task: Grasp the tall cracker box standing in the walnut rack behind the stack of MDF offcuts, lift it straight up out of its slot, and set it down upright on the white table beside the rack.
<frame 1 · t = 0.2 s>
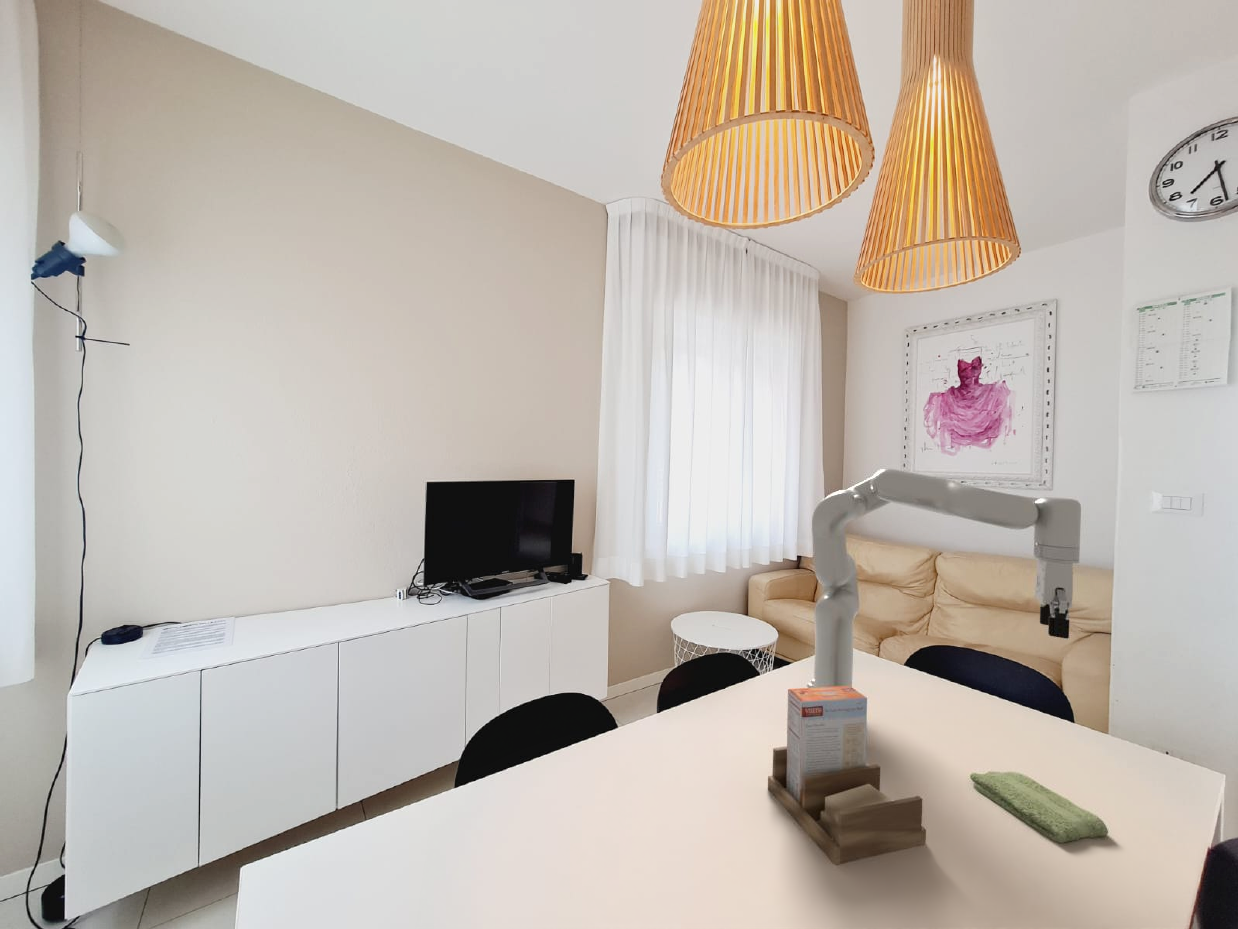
hand: (1053, 630, 107), 31 cm above the table, tool pointing down, fingers open, 9 cm apart
rack: (838, 812, 91), on the table
washcloth: (1033, 811, 94), on the table
cracker box: (824, 799, 95), resting in rack
offcut stack: (859, 833, 86), resting in rack
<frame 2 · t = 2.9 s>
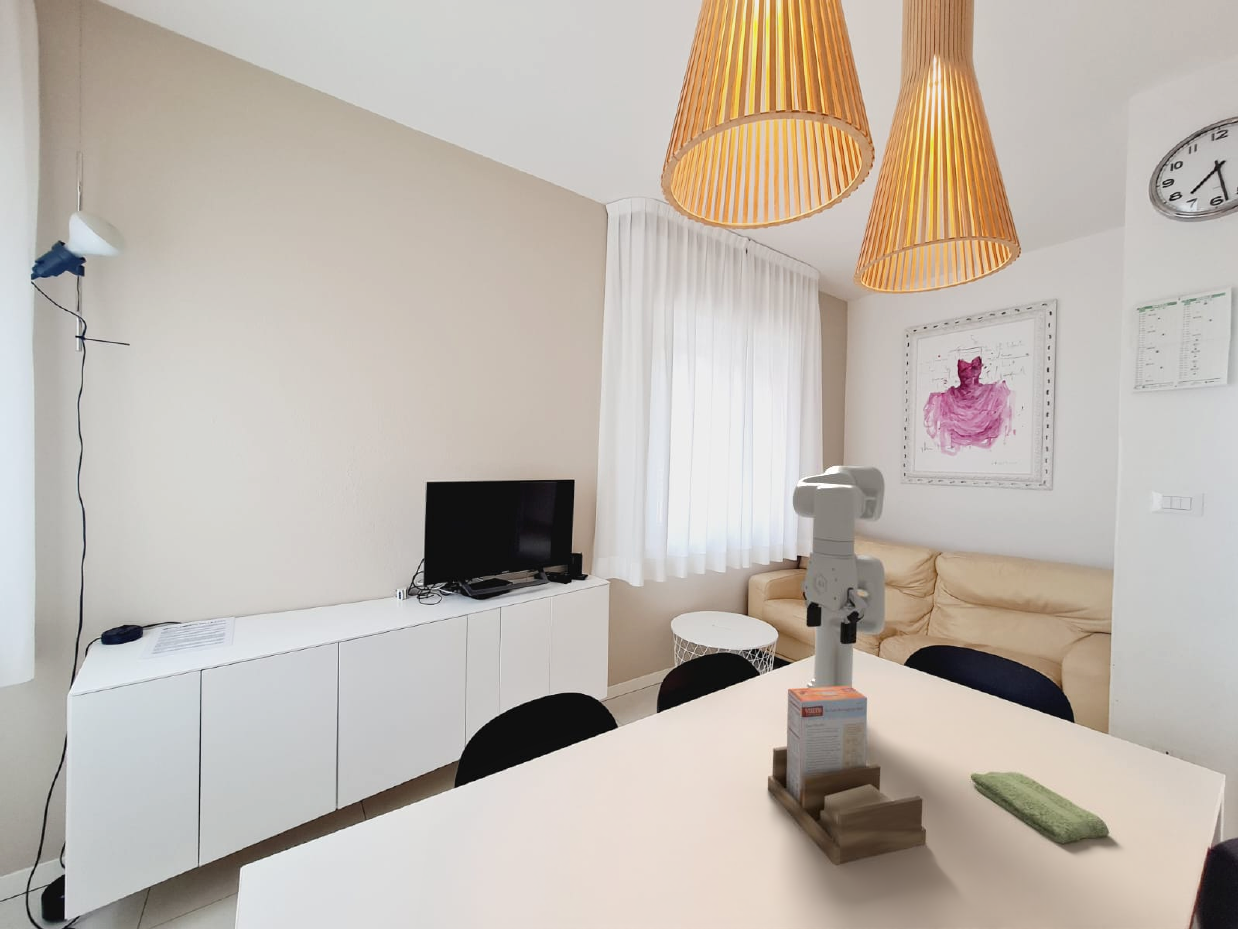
hand: (830, 634, 95), 32 cm above the table, tool pointing down, fingers open, 9 cm apart
nothing on the table moved.
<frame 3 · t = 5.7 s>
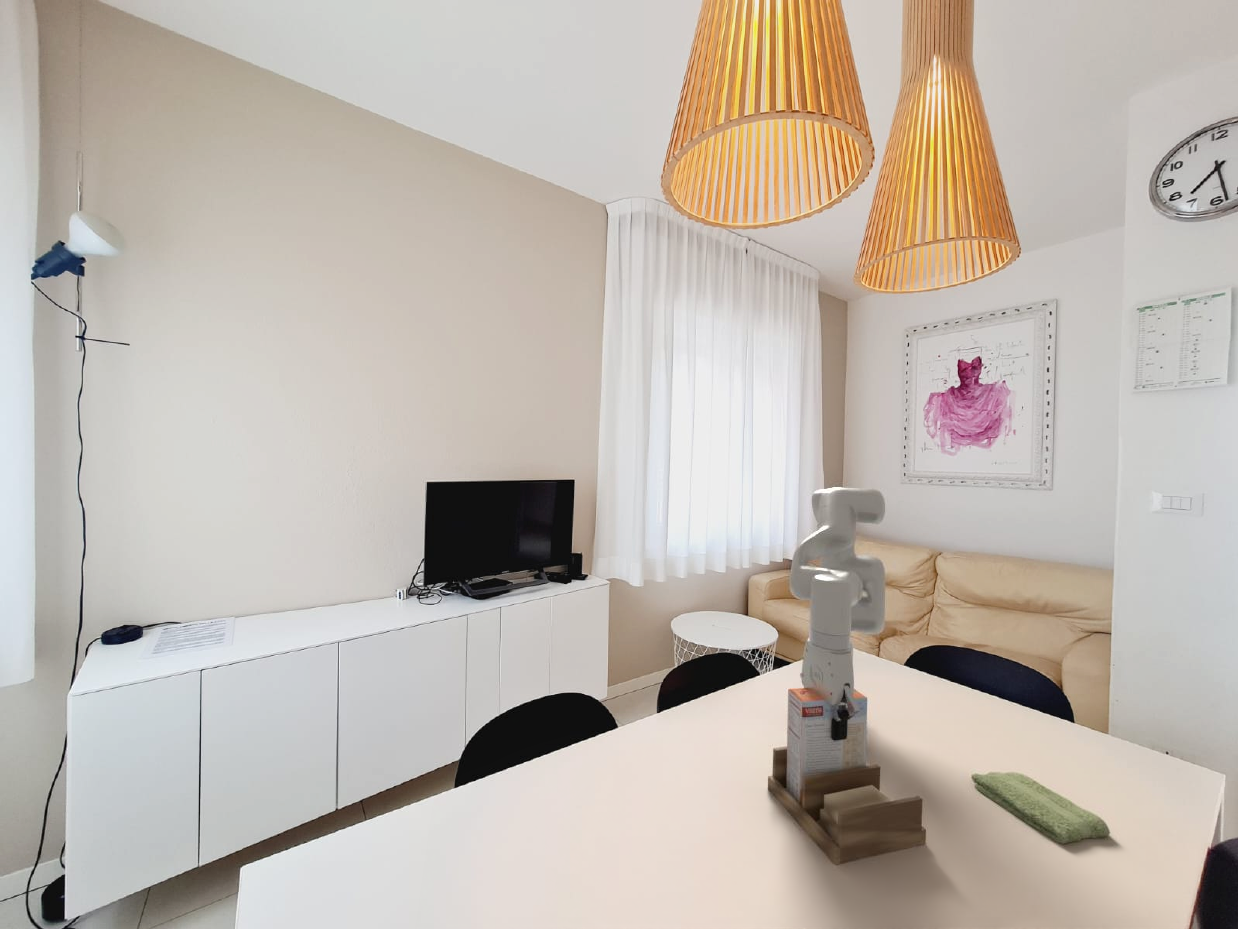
hand: (826, 728, 95), 14 cm above the table, tool pointing down, fingers closed on cracker box, 6 cm apart
cracker box: (824, 798, 95), resting in rack, touching gripper
everything else where it was.
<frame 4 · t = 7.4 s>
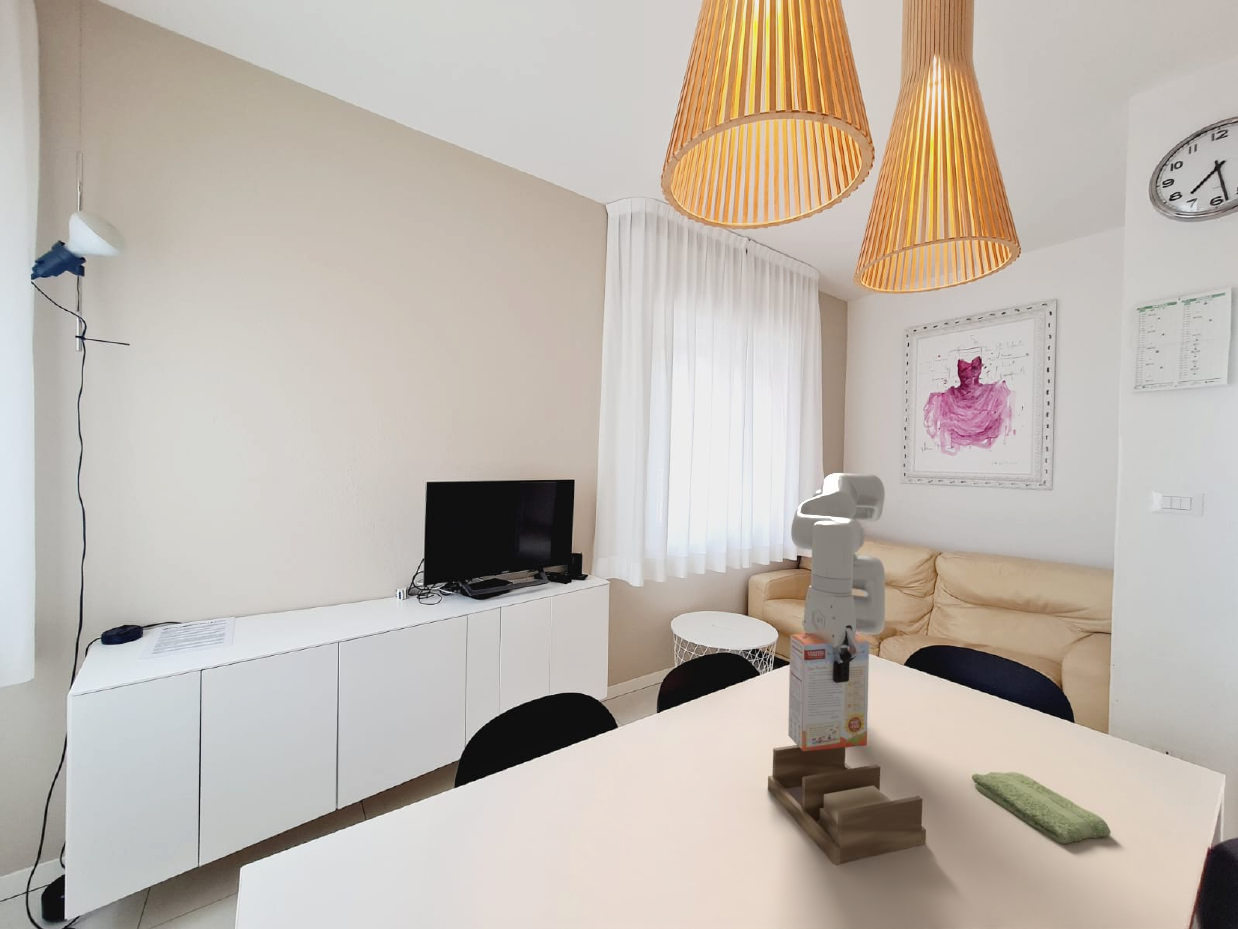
hand: (828, 672, 96), 25 cm above the table, tool pointing down, fingers closed on cracker box, 6 cm apart
cracker box: (826, 742, 96), point 11 cm above the table, touching gripper
everything else where it was.
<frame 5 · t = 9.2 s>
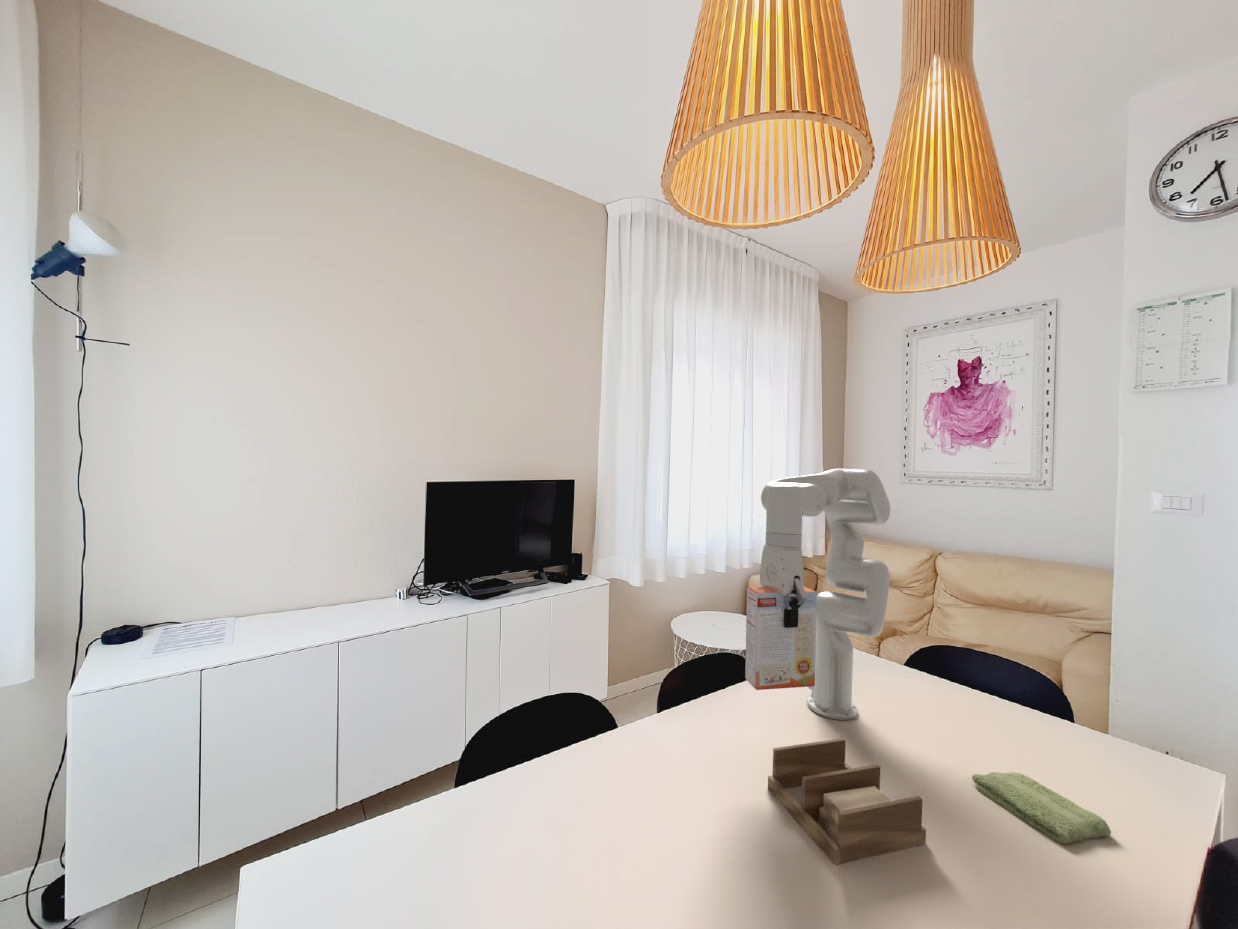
hand: (780, 621, 106), 31 cm above the table, tool pointing down, fingers closed on cracker box, 6 cm apart
cracker box: (778, 684, 106), point 17 cm above the table, touching gripper
everything else where it was.
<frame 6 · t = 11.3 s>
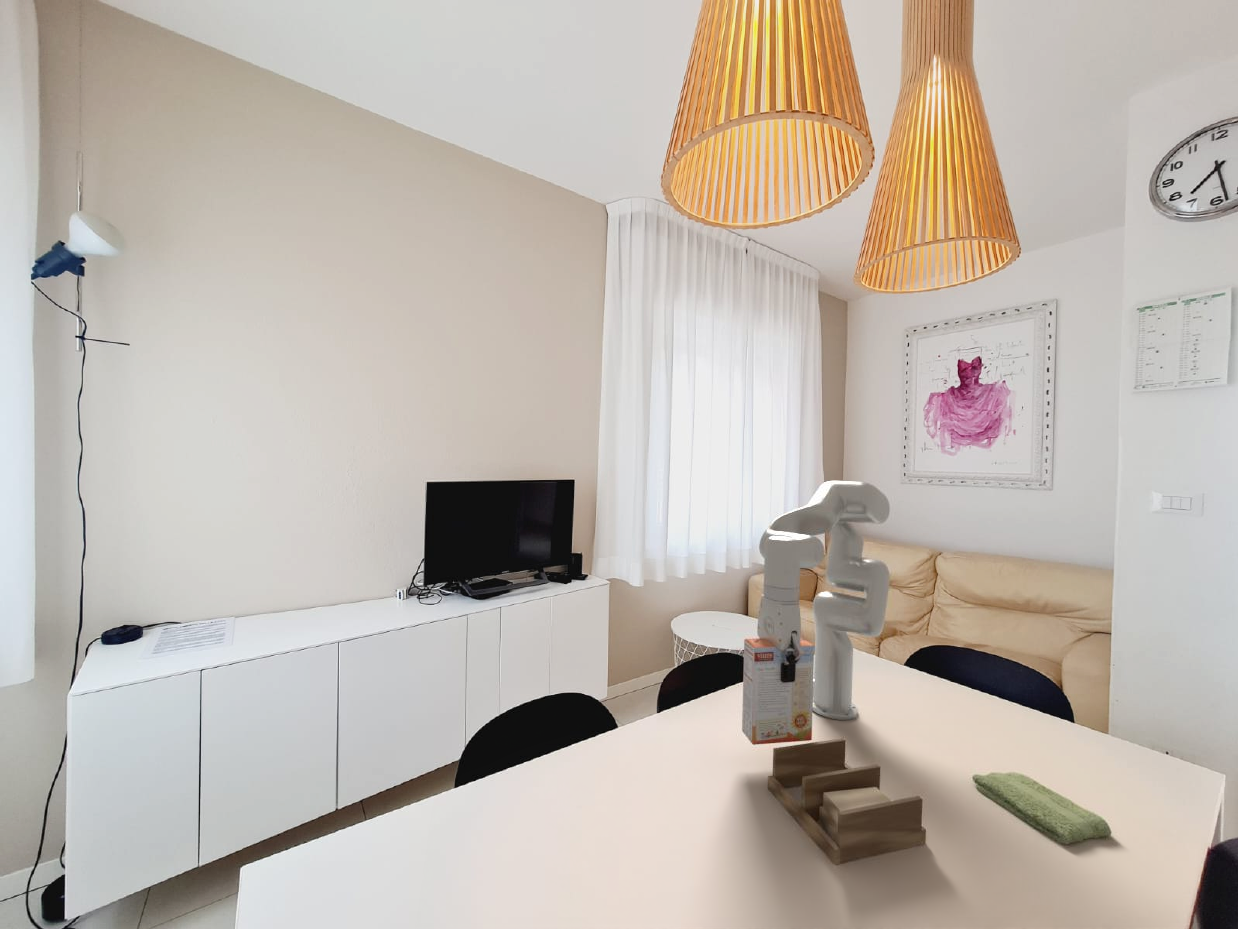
hand: (778, 674, 106), 20 cm above the table, tool pointing down, fingers closed on cracker box, 6 cm apart
cracker box: (775, 737, 106), point 6 cm above the table, touching gripper
everything else where it was.
when the fingers open (15 cm above the table, at t = 13.2 s): cracker box drops 1 cm, on the table.
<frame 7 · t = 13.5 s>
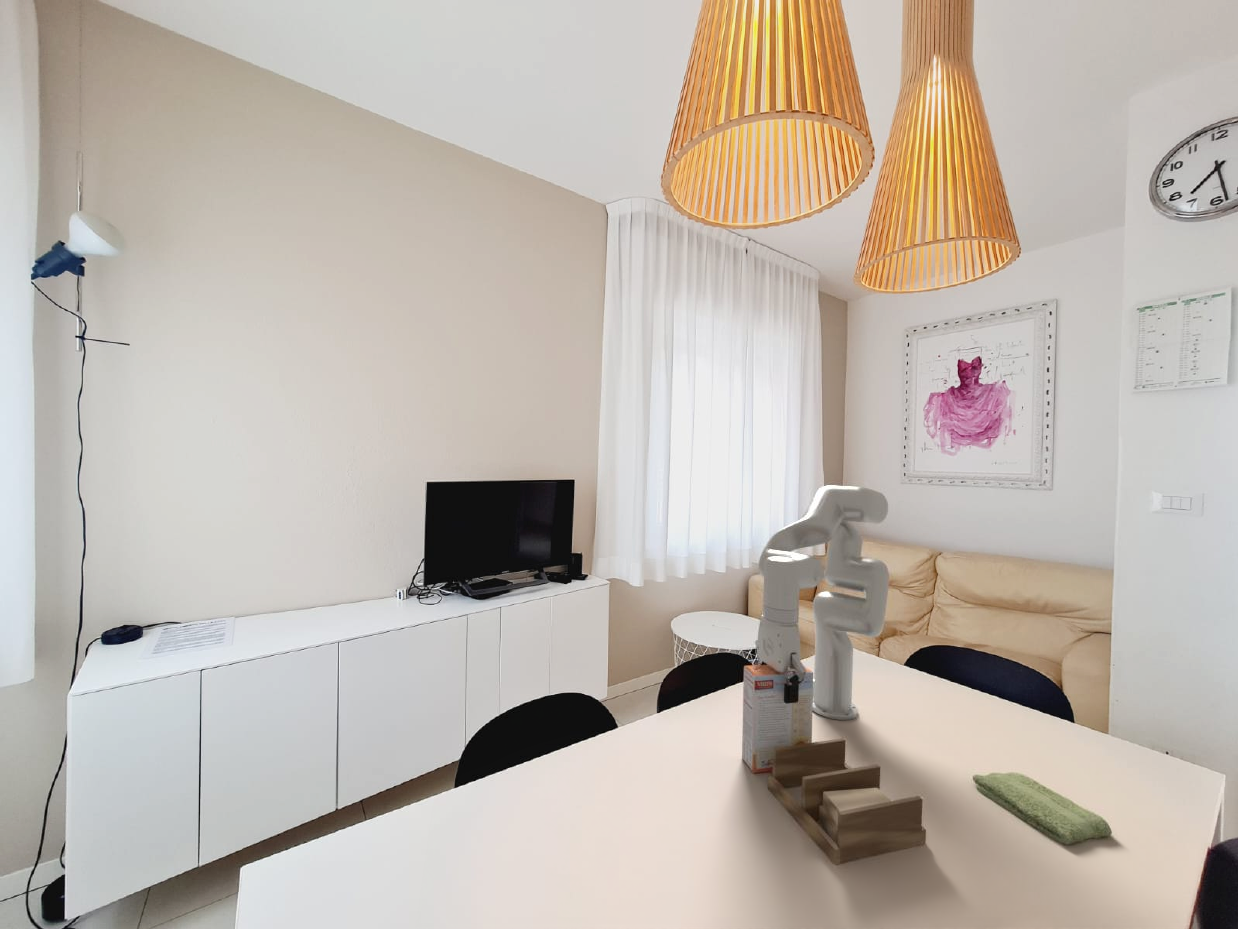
hand: (777, 692, 106), 16 cm above the table, tool pointing down, fingers open, 9 cm apart
cracker box: (775, 763, 106), on the table
everything else where it was.
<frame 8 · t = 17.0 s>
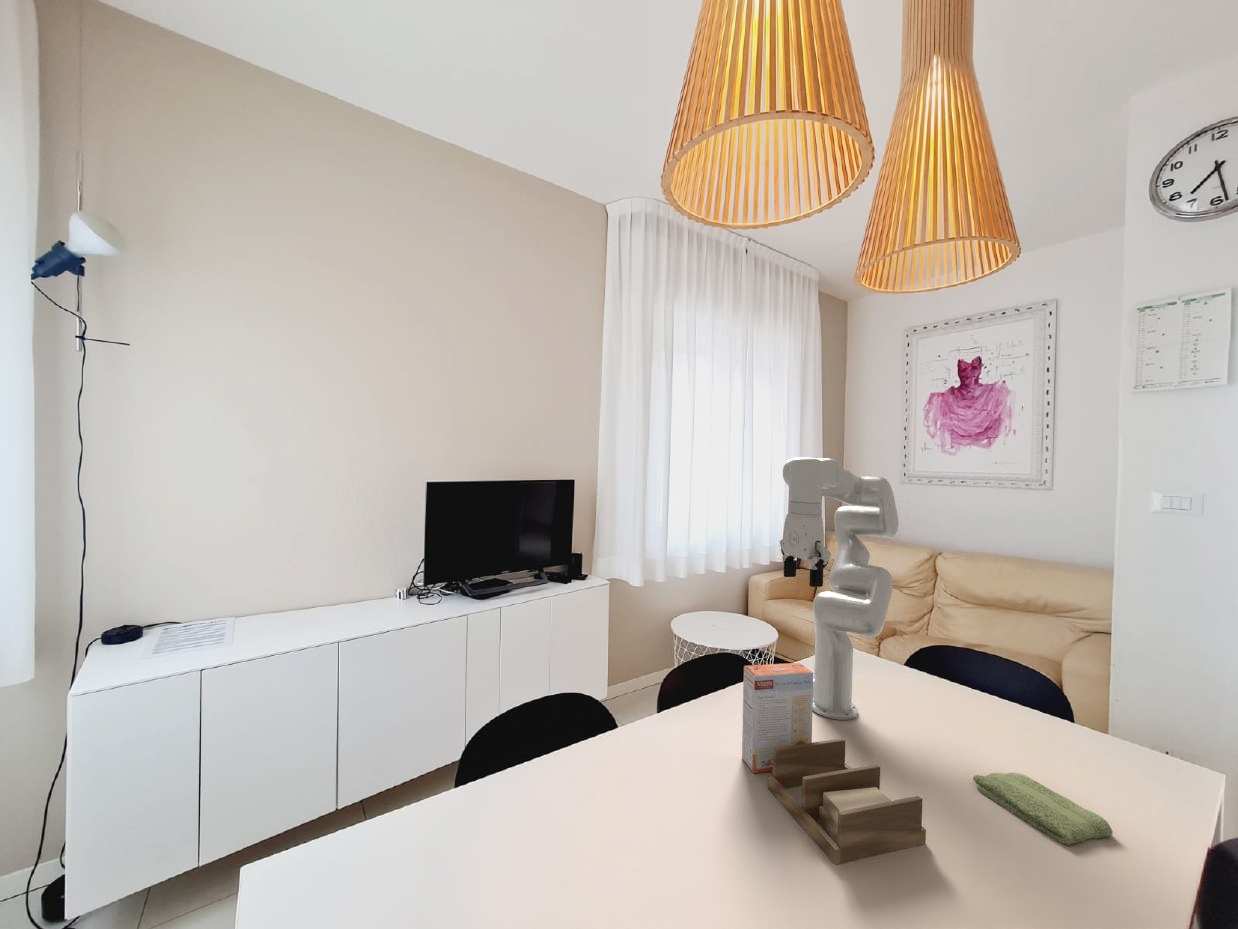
hand: (802, 581, 115), 38 cm above the table, tool pointing down, fingers open, 9 cm apart
nothing on the table moved.
at the end: cracker box inside the target area (0.3 cm from its centre), on the table; cracker box tilted 0°; the gripper is holding nothing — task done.
